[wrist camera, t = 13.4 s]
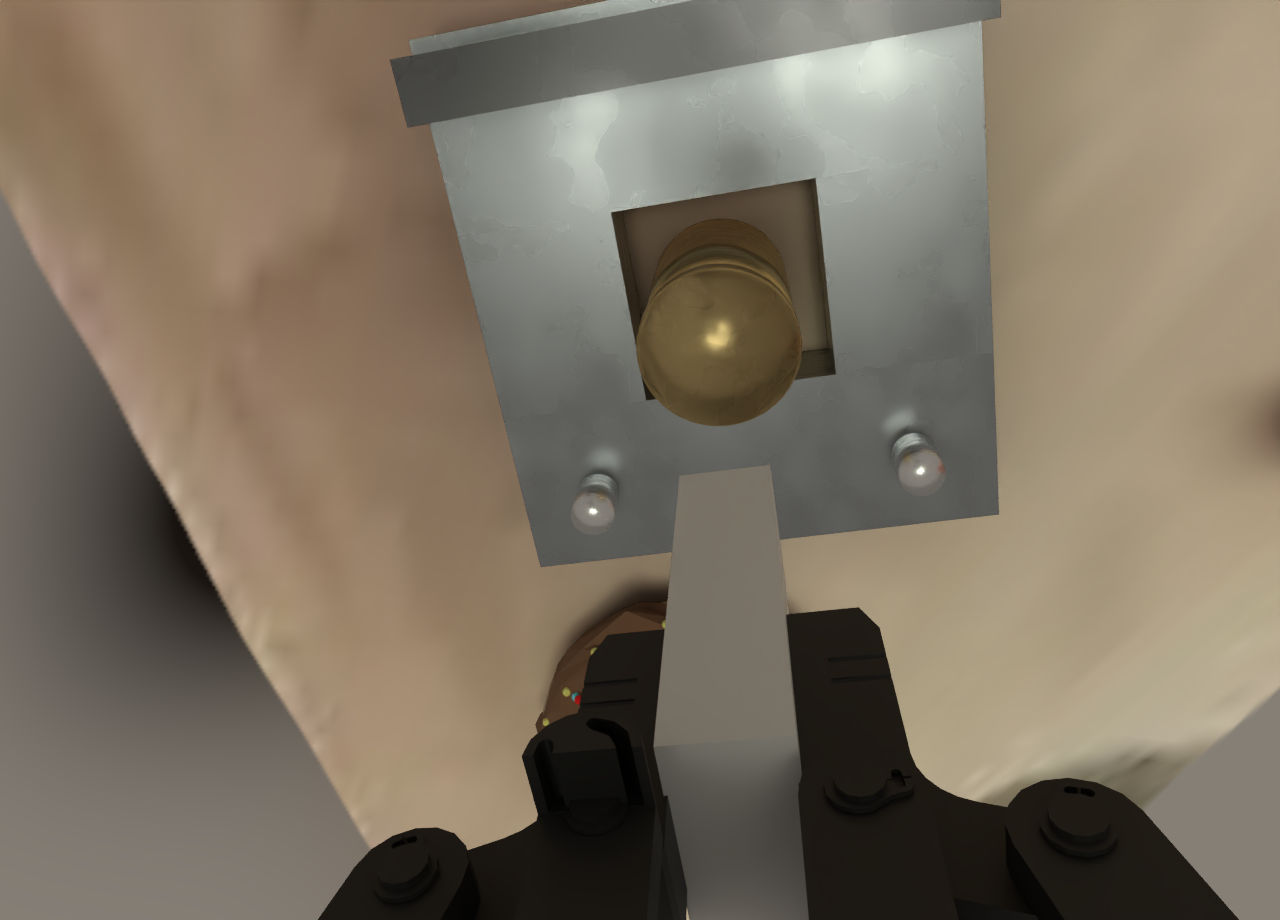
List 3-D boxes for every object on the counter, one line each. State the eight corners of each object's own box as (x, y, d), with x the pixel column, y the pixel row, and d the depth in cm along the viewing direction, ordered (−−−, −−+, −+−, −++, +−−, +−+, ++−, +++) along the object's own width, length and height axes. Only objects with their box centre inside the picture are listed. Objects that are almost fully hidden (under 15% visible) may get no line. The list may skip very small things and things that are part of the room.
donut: (872, 782, 47) (888, 864, 43) (605, 834, 50) (593, 916, 46) (796, 531, 42) (804, 593, 37) (502, 604, 45) (476, 671, 40)
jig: (433, 37, 35) (385, 42, 30) (957, -67, 32) (998, -81, 27) (552, 531, 43) (529, 598, 38) (980, 480, 40) (1015, 545, 35)
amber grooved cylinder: (643, 229, 37) (622, 282, 30) (779, 207, 36) (791, 255, 29) (665, 357, 39) (651, 435, 32) (794, 338, 38) (810, 414, 31)
